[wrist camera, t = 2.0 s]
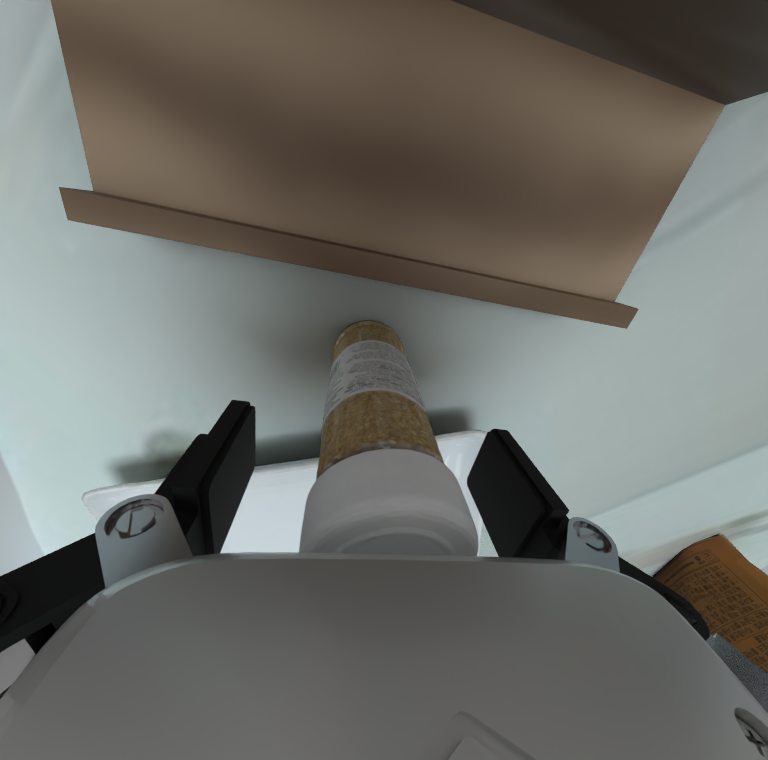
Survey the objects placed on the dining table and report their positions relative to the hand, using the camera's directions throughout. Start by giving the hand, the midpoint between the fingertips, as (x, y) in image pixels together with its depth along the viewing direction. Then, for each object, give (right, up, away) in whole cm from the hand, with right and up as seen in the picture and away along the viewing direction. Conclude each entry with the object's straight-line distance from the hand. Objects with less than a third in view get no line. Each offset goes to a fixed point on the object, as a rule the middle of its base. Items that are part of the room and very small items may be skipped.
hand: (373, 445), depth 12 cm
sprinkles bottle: (-1, +5, +7) cm, 9 cm away
